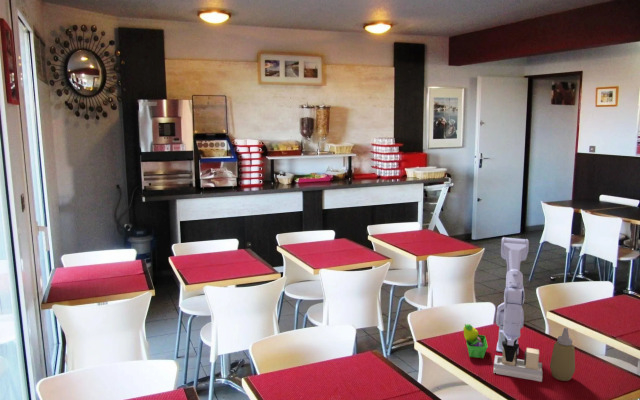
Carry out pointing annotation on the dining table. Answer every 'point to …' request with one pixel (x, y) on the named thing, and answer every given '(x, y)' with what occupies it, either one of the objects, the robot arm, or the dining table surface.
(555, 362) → the squeeze bottle
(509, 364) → the maple finger
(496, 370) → the rail
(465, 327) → the fruit basket
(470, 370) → the dining table surface
